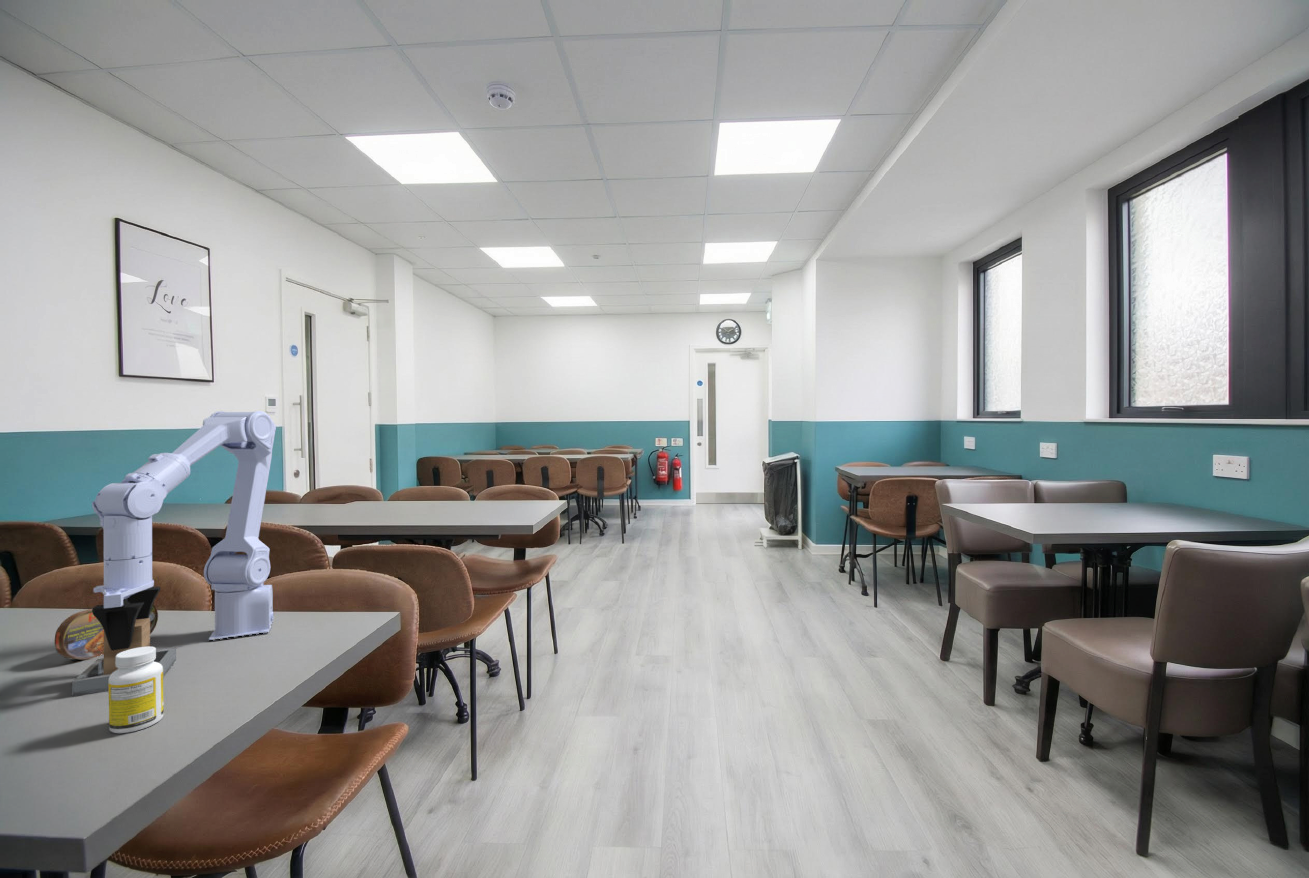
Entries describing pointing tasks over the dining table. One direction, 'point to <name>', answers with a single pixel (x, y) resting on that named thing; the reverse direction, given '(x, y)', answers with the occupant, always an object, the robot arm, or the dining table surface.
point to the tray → (98, 682)
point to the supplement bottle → (135, 691)
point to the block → (139, 640)
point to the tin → (86, 635)
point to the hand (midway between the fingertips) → (128, 640)
